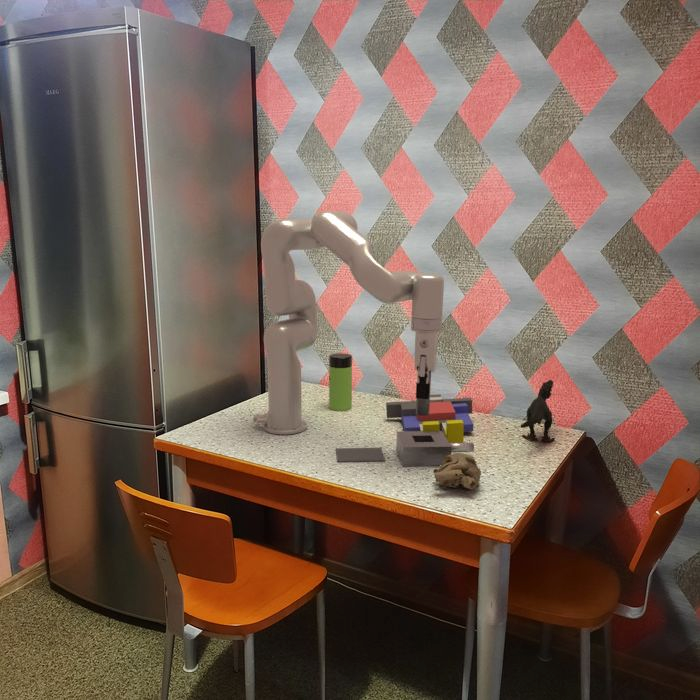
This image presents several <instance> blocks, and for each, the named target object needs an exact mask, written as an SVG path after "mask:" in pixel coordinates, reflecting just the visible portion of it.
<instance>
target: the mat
mask: <svg viewBox="0 0 700 700" xmlns="http://www.w3.org/2000/svg"><path fill="white" fill-rule="evenodd" d="M382 449H383V448H382V447H345V448H343V447H341V448H339V447H338V448H337V447H336V448H335V451H336V461H337V463H372V462H373V463H375V462H376V463H377V462H381V463H382V462H383V463H384V462H385V463H386V459H385V455H384V453H383V450H382Z"/></svg>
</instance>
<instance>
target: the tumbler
mask: <svg viewBox="0 0 700 700" xmlns="http://www.w3.org/2000/svg"><path fill="white" fill-rule="evenodd" d="M328 357H329V358H328V381H329V382H328V384H329V386H328V391H329V392H328V397H329V399H328V400H329V401H328V402H329V403H328V407H329V409H330V410H331V411H336V410H337V412H344V411H343V410H345V411H349V410H351V409H352V406H353V405H352V404H353V401H352V398H353V395H352V393H353V392H352V391H353V389H352V388H353V380H352V379H353V355H351V354H349V353H343V352H341V353H339V352H338V353H332V354H329V356H328Z"/></svg>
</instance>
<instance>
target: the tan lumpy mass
mask: <svg viewBox="0 0 700 700" xmlns="http://www.w3.org/2000/svg"><path fill="white" fill-rule="evenodd" d="M433 473H434V474H433V476H434V479H435V482H436V483H438V485H440V486H443V485H444V486H445V487H446V488H454V489H457V488H466V489H469V490H473V489H474V490H475V489H476V487H478V485H479V483H480V480H481V476H482V471H481V468H480V467H478V464H477V461H476V460H475V459H474V458H473V456H471V455H470V454H467V453H463V452H454V453H451V455H448V456H446V457H445V459H444V461H443V462H442V464H441V466H438V468H434V469H433Z"/></svg>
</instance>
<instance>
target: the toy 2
mask: <svg viewBox="0 0 700 700" xmlns="http://www.w3.org/2000/svg"><path fill="white" fill-rule="evenodd" d="M553 385H554V381H553V380H552V379H549V380H548V381H546V382H542V385H541V387H540V388H539V391H538V394H537V397H536V398H535V399H533V401H532V402H531V403H530V406H529V407H528V408H527V411H526V418H527V419H526V421H525V422H523V423H522V424H520V428H522V429H523V428H529V433H527V435H526V434H522V435H521V436H522V438H523V439H527V440H528V441H529V440H530V441H531V440H535V441H536V442H538V439H537V434H536V432H535V428H534V427H535V425H539V426H540V425H541V424H542V421H543V420H544V423H543V424H544V425H543V436H542V437H541V441H540V443H542V442H544V443H546V444H547V443H551V442H553V441H555V440H556V437H552V438H551V436H550V435H549V430H550V428H551V427H552V425H553V413H552V411H551V409H550V407H549V406H548V404H547V401H546V400H548V399H550V398H551V396H552V393H551V392H552V391H553V389H552V388H553Z"/></svg>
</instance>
